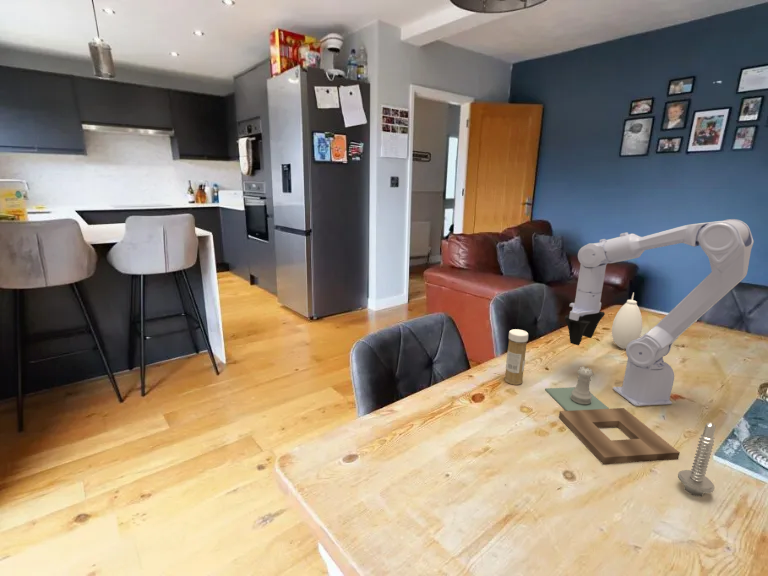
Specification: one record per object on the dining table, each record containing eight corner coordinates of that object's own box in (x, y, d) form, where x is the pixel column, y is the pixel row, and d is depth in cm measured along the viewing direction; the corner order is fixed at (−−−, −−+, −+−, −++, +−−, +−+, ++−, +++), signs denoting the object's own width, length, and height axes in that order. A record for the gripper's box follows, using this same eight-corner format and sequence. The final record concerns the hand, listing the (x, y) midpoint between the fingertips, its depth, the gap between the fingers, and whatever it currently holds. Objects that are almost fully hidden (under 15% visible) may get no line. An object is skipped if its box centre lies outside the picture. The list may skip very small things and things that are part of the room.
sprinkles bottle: (526, 382, 102) (532, 333, 98) (514, 387, 99) (520, 336, 96) (511, 375, 106) (517, 327, 102) (500, 379, 103) (505, 330, 100)
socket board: (622, 413, 89) (623, 407, 89) (678, 459, 75) (679, 452, 74) (558, 417, 87) (559, 411, 87) (603, 464, 73) (604, 457, 72)
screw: (674, 492, 67) (676, 476, 70) (711, 507, 64) (711, 489, 67) (691, 423, 63) (693, 410, 67) (731, 435, 60) (731, 421, 64)
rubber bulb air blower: (610, 340, 130) (620, 287, 126) (638, 346, 126) (649, 291, 121) (607, 348, 124) (617, 292, 120) (636, 355, 120) (648, 297, 115)
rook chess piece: (565, 398, 94) (570, 367, 92) (577, 393, 96) (582, 363, 94) (583, 407, 90) (589, 375, 88) (595, 402, 93) (601, 370, 90)
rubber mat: (583, 388, 100) (583, 386, 100) (609, 410, 90) (610, 409, 90) (545, 389, 98) (545, 388, 98) (567, 412, 89) (568, 411, 89)
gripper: (585, 282, 109) (577, 329, 113) (560, 291, 100) (553, 342, 103) (612, 288, 104) (604, 337, 108) (589, 298, 95) (581, 351, 98)
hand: (581, 340), depth 105 cm, fingers open, 7 cm apart
